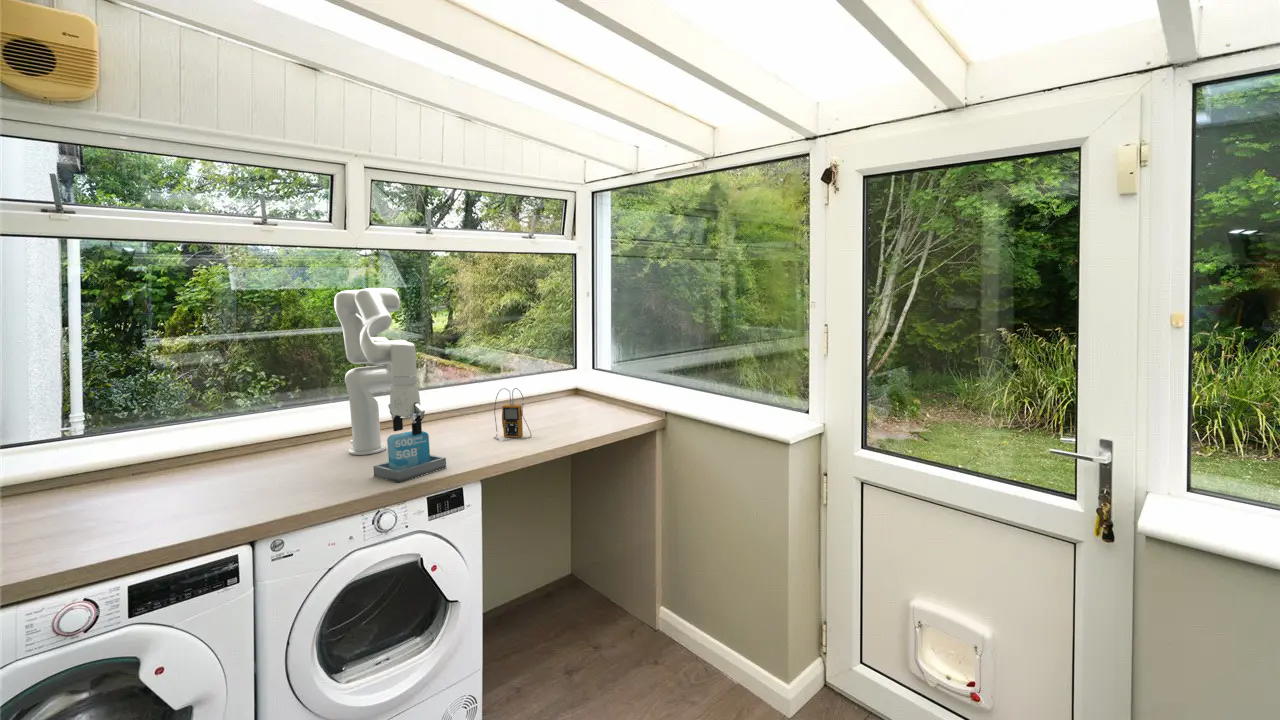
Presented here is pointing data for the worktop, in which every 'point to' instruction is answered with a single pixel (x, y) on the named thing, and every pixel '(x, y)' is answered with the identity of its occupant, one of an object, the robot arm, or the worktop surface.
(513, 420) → the multimeter
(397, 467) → the data package
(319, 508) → the worktop surface
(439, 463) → the parts tray
